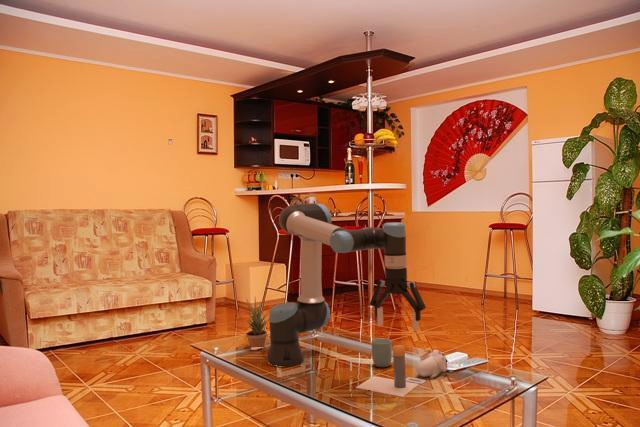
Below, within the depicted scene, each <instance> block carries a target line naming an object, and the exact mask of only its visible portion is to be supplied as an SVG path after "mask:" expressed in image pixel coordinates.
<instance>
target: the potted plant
mask: <svg viewBox="0 0 640 427" xmlns="http://www.w3.org/2000/svg"><path fill="white" fill-rule="evenodd" d="M246 303H247V305H248V308H249V310H250V312H251V314H250V312H249V311H246V312H247V314H248V315H249V317H250V319H249V318H248V320H247V321H246V322H247V324H248V327H249V328H250V329H251V330H250V331H247V332H246V333H245V335H246V336H245V337H246V339H247V341H248V345H249V347H250V346H251V347H264V348H265V345H266V340H267V337H268V331H267V330H265V329H264V328H265V327H266V324H267V322H268V321H267V320H266V319H265V318H266V314H265V315H264V316H263V317H262V315H263V309H262V302H260V303H259V308H258V310H257V301H256V297H254V307H252V306H251V304H250V302H249V301H248V298H246ZM253 308H254V309H253ZM251 347H250V348H251Z"/></svg>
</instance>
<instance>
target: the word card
mask: <svg viewBox="0 0 640 427" xmlns="http://www.w3.org/2000/svg"><path fill="white" fill-rule="evenodd" d="M406 382H410V383H416V384H419V385H422V384H424V383H425V382H427V380H426V379H421V378H416V377H415V378H414V377H410V376H408V377H406Z"/></svg>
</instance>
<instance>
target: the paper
mask: <svg viewBox="0 0 640 427" xmlns="http://www.w3.org/2000/svg"><path fill="white" fill-rule="evenodd" d="M419 385H420V384H417V383H412V382H406V387H404V388H396V387H395V386H394V378H393V379H391V378H387V377H382V376H381V377H380V376H375V375H373V376H372V377H370V378H368V379H367V380H365V381H364V382H362V383H361V384H359V385H357V386H356V387H355V389H358V390H362V391H368V390H370V391H369V392H374V393H379V394H385V395H389V396H394V397H399V398H404V397H406V396H407V395H409V393H411V392H412V391H414V390H415V389H416V388H417V387H419Z"/></svg>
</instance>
